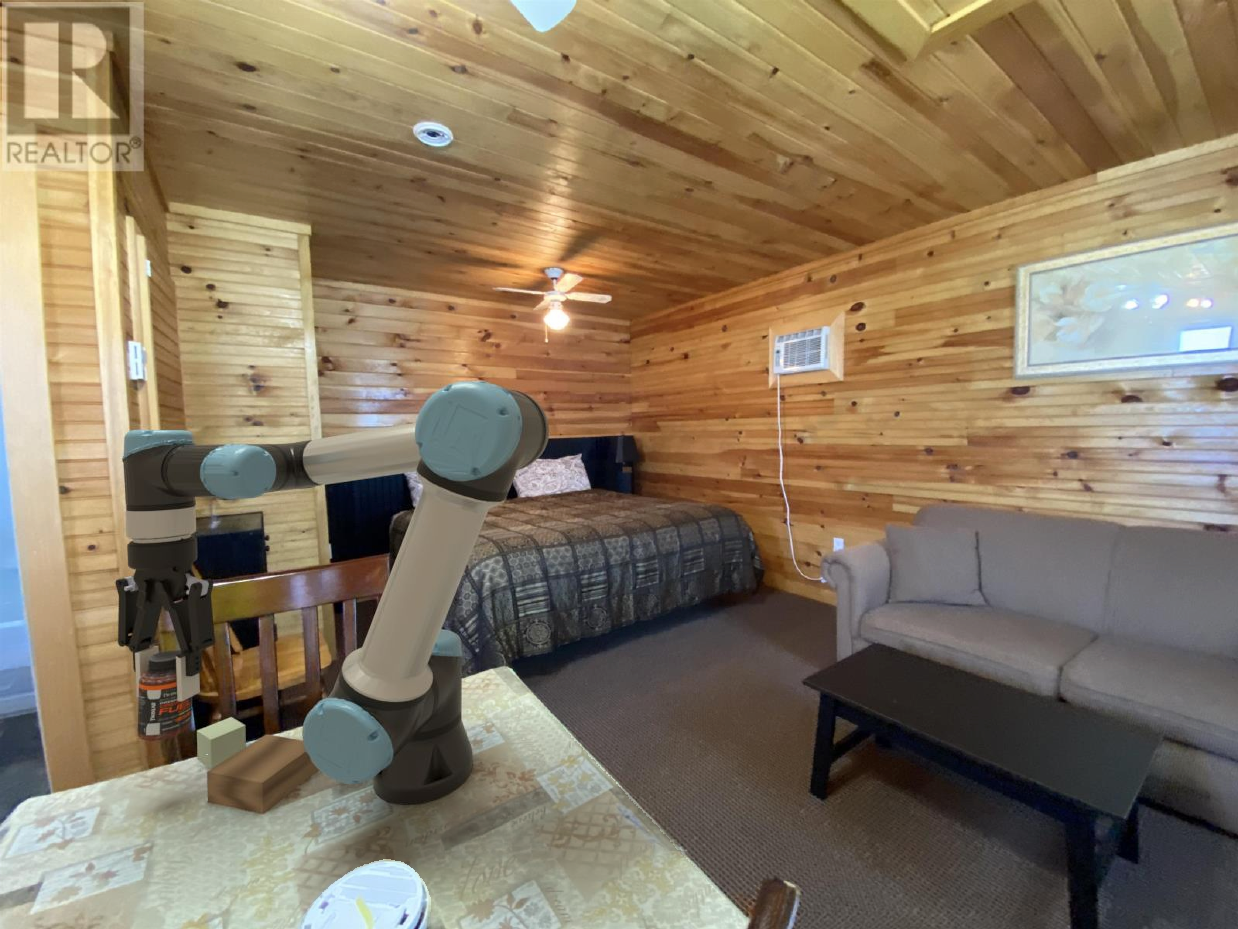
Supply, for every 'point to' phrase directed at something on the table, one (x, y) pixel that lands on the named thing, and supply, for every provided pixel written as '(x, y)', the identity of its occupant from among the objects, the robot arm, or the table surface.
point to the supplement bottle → (161, 700)
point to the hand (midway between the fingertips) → (168, 694)
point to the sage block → (220, 741)
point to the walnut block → (260, 774)
